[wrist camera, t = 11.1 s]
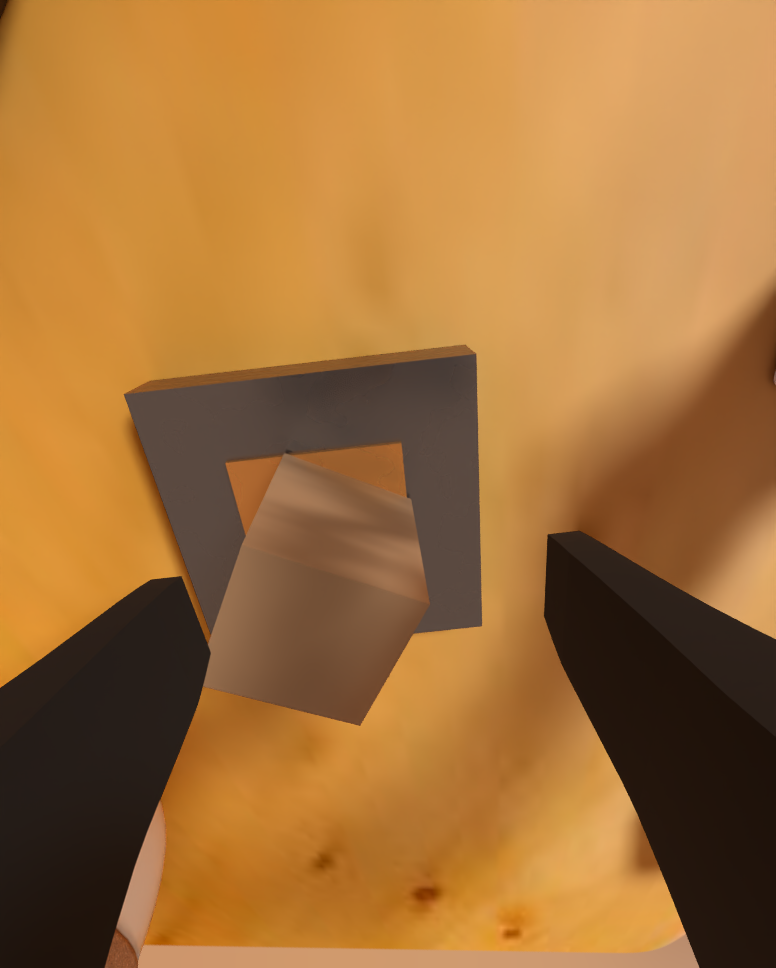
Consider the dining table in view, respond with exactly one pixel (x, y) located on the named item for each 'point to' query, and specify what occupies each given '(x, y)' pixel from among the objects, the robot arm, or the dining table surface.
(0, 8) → the hand tool
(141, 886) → the lidded bowl
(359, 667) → the taupe wooden cube
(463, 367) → the grey square picture frame
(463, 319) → the dining table surface
